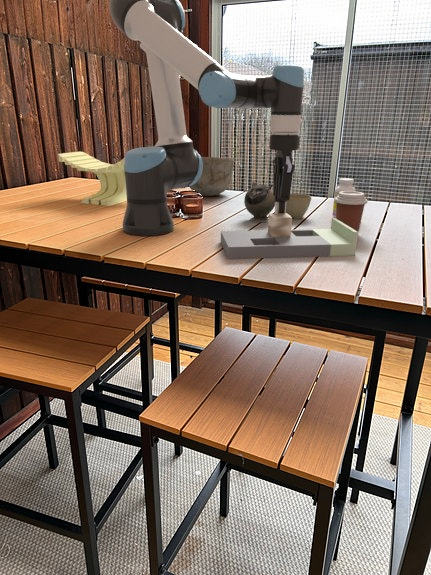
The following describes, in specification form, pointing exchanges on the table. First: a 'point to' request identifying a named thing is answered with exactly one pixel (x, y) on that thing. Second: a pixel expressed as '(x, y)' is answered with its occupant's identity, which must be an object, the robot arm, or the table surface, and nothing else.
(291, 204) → the flower pot
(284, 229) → the cream block
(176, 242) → the table surface
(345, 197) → the coffee cup
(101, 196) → the slatted curved stool
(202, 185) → the bowl
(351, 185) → the supplement bottle
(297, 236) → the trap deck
